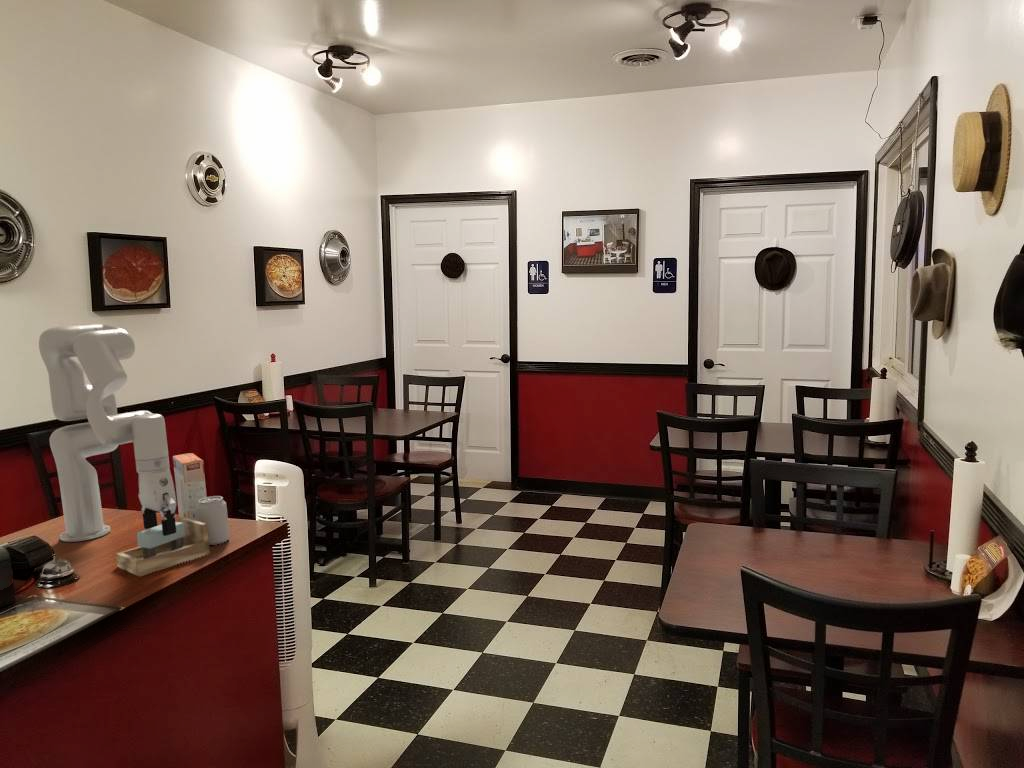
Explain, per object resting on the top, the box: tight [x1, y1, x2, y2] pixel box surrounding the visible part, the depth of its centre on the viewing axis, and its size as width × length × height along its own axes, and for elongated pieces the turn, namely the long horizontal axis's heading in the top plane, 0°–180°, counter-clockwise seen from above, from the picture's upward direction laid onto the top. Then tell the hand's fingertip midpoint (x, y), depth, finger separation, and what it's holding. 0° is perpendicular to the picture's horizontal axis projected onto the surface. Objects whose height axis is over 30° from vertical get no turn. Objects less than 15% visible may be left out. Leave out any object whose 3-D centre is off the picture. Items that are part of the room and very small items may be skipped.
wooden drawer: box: [115, 517, 211, 578], centre depth 199 cm, size 12×18×8 cm, turn 140°
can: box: [196, 495, 231, 546], centre depth 211 cm, size 8×8×12 cm
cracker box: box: [172, 452, 208, 521], centre depth 223 cm, size 14×6×21 cm, turn 33°
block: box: [136, 521, 185, 549], centre depth 198 cm, size 10×4×4 cm, turn 150°
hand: (160, 530), depth 198 cm, fingers open, 9 cm apart
